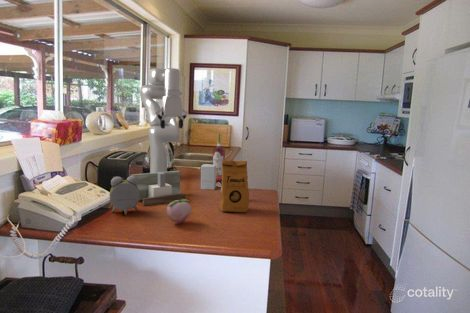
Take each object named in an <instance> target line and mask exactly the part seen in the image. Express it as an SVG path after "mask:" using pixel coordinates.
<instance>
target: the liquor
mask: <svg viewBox="0 0 470 313" xmlns="http://www.w3.org/2000/svg"><path fill="white" fill-rule="evenodd" d="M222 137H223V134H222V133H217V134H216V138H217V142H216V147H214V148H213V149H212V164H213V165H216V183H222V172H223V171H222V169H223V168H222V160H225V159H226V149H225V148H224V147H223V145H222V143H223V142H222Z"/></svg>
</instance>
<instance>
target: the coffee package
mask: <svg viewBox="0 0 470 313" xmlns="http://www.w3.org/2000/svg"><path fill="white" fill-rule="evenodd" d="M222 168H223V169H222V171H223V172H222V182H221V187H222V191H221V190H220V199H219V209H220V211H221V212H226V213H227V212H228V213H232V212H233V213H247V212H248V210H249V207H250V206H249V205H250V193H249V192H250V191H249V183H248V179H249V178H248V161H247V160H227V159H226V160H222Z"/></svg>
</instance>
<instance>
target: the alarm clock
mask: <svg viewBox="0 0 470 313" xmlns="http://www.w3.org/2000/svg"><path fill="white" fill-rule="evenodd" d="M110 185H111V188H110V189H109V190H110V191H109V200H110V203H111V204H112V206H113V207H112V210H111V212H112V213H114V212H115V211H116V210H117V209H118V210H120V211H123V213H124V215H125V216H127V215H128V211H129V210H131V209H134V210H135V211H138V207H137V204H138V203H139V201H140V200H139V199H140V192H139V189H138V187H137V185H138V179H137V178H136V176H131V175H130V176H128V177H127V178H126V179H124V177H121V176H113V177H112V179H111V180H110Z"/></svg>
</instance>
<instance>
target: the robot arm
mask: <svg viewBox="0 0 470 313" xmlns="http://www.w3.org/2000/svg"><path fill="white" fill-rule="evenodd" d="M147 79H148V80H147V81H148V82H149V83H150V84H143V85H141V87H140V90H139V96H140V101H141V102H142V104H143V107H144V108H145V111H146V116H147V121H148V124H149V126H150V128H149V130H148V141H149V160H150V161H149V162H150V164H149V173H157V172H168V161H167V160H168V150H167V148H166V146H165V145H164V144H163V143H176V142H178V141H179V140H180V129H183V127H184V120H185V119H186V117H187V116H188V114H189V112H188V111H187V110H185V109H184V108H183V102H182V97H181V95H183V92H182V91H181V90H180V89H181V71H180V69H178V68H173V67H171V68H170V67H168V68H167V67H166V68H159V67H158V68H157V67H155V68H154V67H153V68H151V69H149V71H148V76H147ZM155 100H161V105H160V104H159V103H158V102H157V101H155ZM177 118H178V119H179V120H178V122H177Z"/></svg>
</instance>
